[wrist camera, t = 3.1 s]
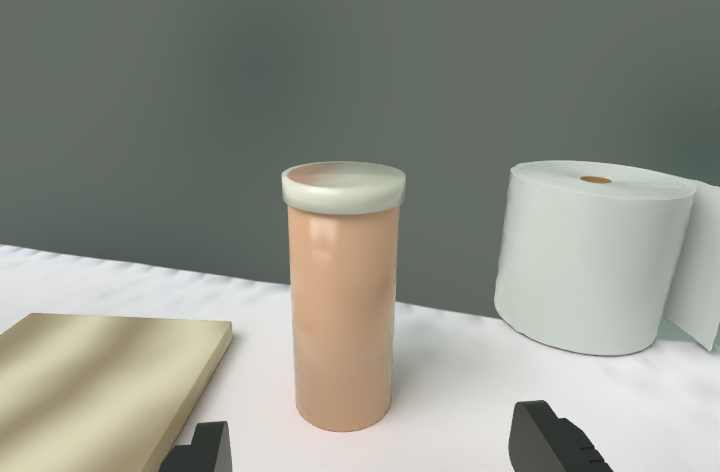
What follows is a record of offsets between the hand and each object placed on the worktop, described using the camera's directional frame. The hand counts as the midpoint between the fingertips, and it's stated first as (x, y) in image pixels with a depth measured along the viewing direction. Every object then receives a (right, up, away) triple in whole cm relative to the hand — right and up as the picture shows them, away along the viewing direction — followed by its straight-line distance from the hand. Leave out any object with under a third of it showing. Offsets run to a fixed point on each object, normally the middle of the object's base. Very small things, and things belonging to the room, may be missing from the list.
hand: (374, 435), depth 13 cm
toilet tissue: (+15, 0, +21) cm, 26 cm away
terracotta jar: (-1, -3, +12) cm, 12 cm away
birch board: (-15, -3, +12) cm, 19 cm away
